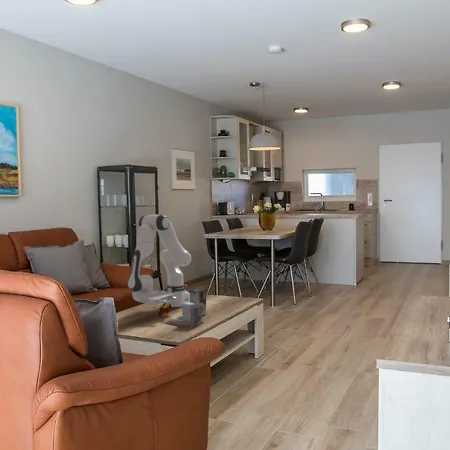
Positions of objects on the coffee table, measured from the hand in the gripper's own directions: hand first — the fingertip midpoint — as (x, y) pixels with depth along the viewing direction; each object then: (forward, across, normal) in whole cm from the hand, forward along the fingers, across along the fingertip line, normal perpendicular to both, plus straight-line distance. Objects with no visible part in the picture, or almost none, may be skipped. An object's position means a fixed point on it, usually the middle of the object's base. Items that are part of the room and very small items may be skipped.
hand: (170, 300), depth 318 cm
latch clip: (+20, -2, +11) cm, 23 cm away
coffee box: (+7, +19, +13) cm, 24 cm away
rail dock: (+13, -2, +12) cm, 18 cm away
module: (+16, -2, +11) cm, 20 cm away
